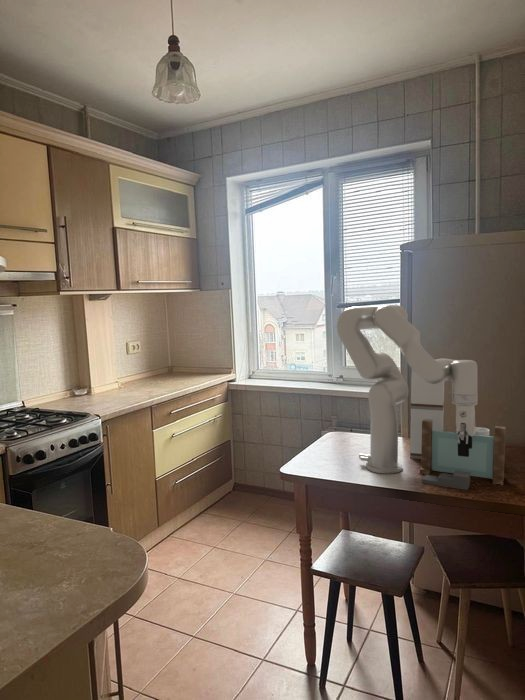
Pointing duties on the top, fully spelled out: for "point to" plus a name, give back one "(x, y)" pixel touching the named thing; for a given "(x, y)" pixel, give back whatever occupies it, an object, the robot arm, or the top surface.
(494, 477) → the door frame
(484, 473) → the door
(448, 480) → the block
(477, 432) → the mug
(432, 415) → the white block
